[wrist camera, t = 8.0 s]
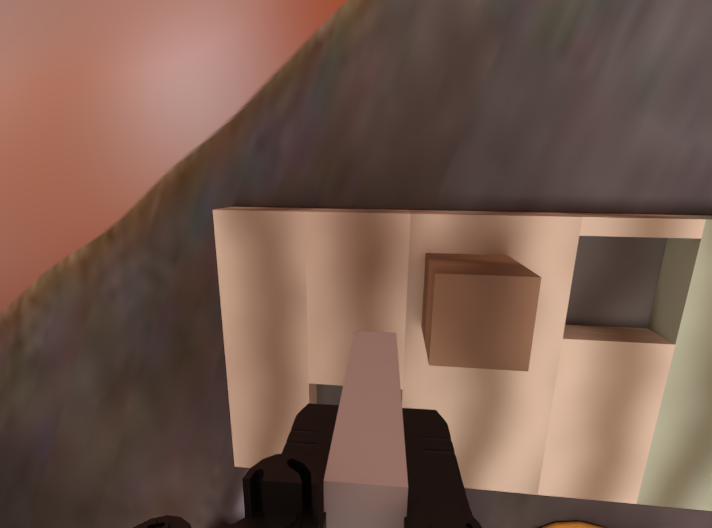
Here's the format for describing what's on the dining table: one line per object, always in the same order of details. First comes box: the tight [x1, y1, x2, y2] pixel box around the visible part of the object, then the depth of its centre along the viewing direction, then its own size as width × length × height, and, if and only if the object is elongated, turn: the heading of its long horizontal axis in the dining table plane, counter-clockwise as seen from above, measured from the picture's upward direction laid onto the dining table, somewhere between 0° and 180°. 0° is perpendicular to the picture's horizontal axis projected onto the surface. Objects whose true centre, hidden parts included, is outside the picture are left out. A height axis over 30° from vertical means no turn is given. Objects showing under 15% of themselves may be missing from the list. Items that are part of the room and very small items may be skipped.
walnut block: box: [421, 253, 541, 371], centre depth 18 cm, size 4×4×4 cm
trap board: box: [213, 207, 712, 511], centre depth 21 cm, size 32×18×6 cm, turn 90°
